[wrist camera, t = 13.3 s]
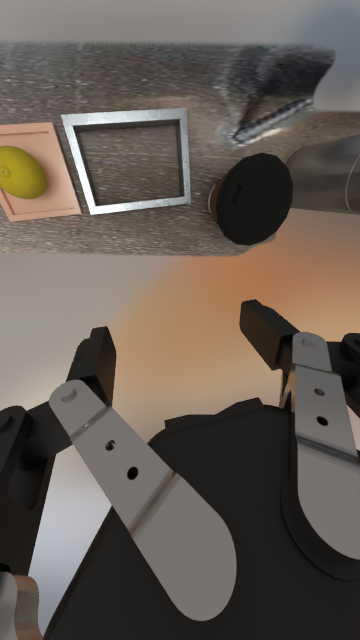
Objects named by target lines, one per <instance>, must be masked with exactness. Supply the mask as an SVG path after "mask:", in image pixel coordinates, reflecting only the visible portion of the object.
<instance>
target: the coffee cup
mask: <svg viewBox="0 0 360 640" xmlns="http://www.w3.org/2000/svg"><path fill="white" fill-rule="evenodd" d="M292 198H293V182H292V178H291V175H290V171H289V169H288V168H287V166H286V165H285V164H284V163H283V162H282V161H281V160H280V159H279V158H278V157H277V156H274V155H270V154H266V153H258V154H255V155H252V156H249V157H246V158H243V159H242V160H241V161H240V162H239V163H238V164H236V165H235V166H234V167H233V168H232V169H231V170H230V171H229V172H228V174H227V175H225V176H224V177H223V178H222V179H221V180H219V181H218V182H217V183H216V184H215V185H214V186H213V188H212V190H211V192H210V194H209V199H208V207H209V212H210V214H211V215H212V217H213V219H214V220H215V222H216V223H217V224H218V225H219V227H220V229H221V230H222V232H223V234H224V236H225V237H227V238H228V239H230V240H231V241H232V242H234V243H235V244H239V245H249V246H250V245H253V244H256V243H259V242H262V241H264V240H266V239H267V238H268V237H270V236H271V235H272V234H273V233H275V232H276V231H277V230H278V229H279V227H280V226H281V224H282V223H283V222H284V220H285V219H286V217H287V214H288V212H289V209H290V206H291V204H292Z"/></svg>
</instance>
